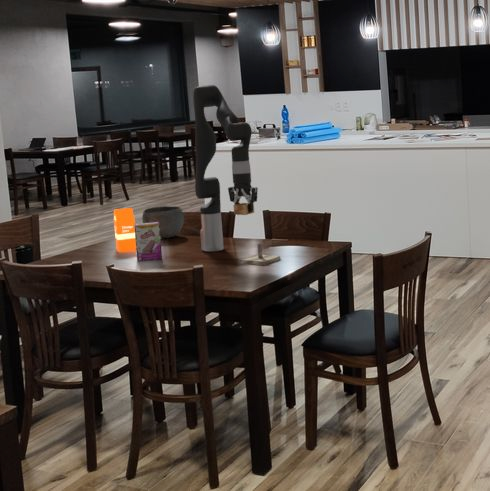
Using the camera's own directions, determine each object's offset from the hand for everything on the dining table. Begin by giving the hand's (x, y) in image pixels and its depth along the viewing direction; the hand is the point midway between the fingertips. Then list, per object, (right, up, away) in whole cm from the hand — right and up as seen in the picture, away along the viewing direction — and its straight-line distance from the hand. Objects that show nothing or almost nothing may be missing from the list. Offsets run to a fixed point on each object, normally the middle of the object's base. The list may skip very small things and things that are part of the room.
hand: (244, 211), depth 357 cm
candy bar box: (-42, -21, +25) cm, 53 cm away
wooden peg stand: (+7, -21, +6) cm, 22 cm away
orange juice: (-56, -16, +52) cm, 78 cm away
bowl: (-40, -10, +78) cm, 89 cm away
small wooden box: (0, -1, 0) cm, 1 cm away
